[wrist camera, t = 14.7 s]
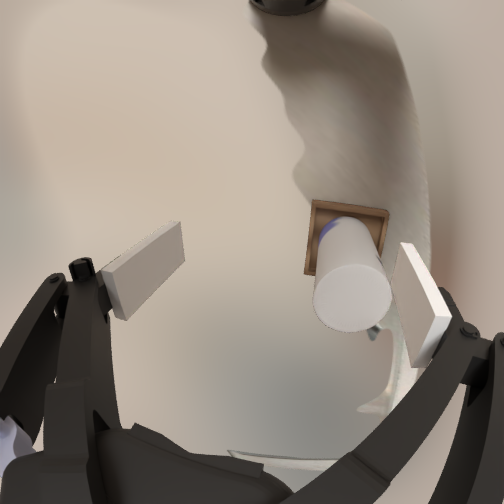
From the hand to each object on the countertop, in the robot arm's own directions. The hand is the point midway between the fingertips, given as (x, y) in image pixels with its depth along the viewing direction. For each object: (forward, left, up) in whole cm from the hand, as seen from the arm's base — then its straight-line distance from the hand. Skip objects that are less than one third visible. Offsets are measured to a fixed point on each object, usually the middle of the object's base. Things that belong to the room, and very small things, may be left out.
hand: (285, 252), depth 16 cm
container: (+12, +7, -34) cm, 37 cm away
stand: (+12, +7, -35) cm, 38 cm away
